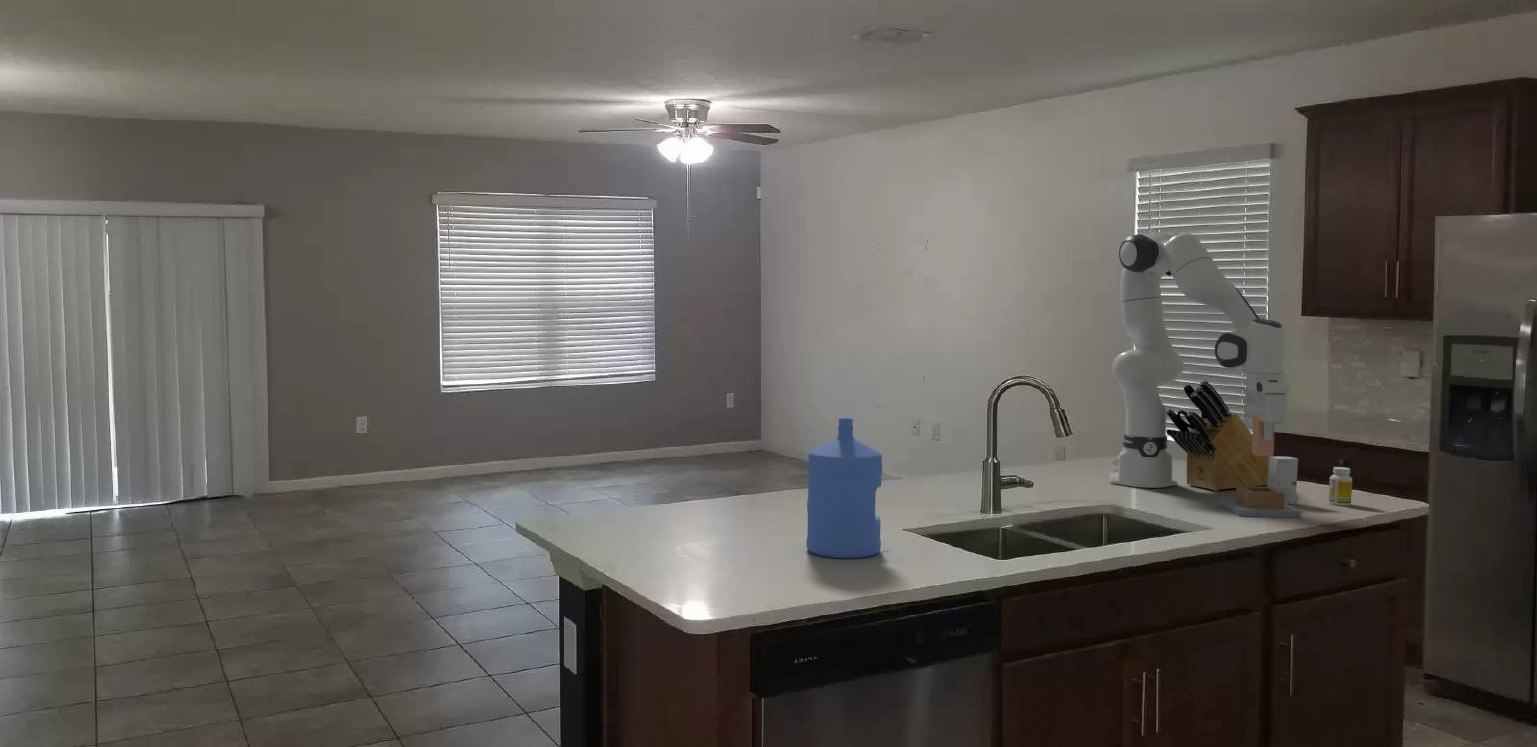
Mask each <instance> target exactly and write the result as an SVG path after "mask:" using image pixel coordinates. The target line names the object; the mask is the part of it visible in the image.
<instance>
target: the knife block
mask: <svg viewBox="0 0 1537 747" xmlns="http://www.w3.org/2000/svg"><path fill="white" fill-rule="evenodd" d="M1198 385H1199V386H1198V387H1196V388H1194V387H1193V386H1192V385H1191V384H1187V385H1185V386H1184V387H1183V391H1184V393H1185V394H1186V396H1187V398H1188V399H1189V400H1190V401H1191V402H1192V404H1194V406H1195V407H1196V408H1197V409H1198V410H1199V411H1200V412H1201V413H1200V415H1199V414H1198V413H1196V412H1195V411H1188V412H1187V411H1186V410H1182V409H1181V410H1180V409H1179V410H1178V411H1177V413H1176V412H1175V411H1174V410H1172V409H1167V411H1166V414H1167V416H1168V417H1169V419H1170V420H1171V422H1172V423H1173V424H1174V426H1175V427H1176V428H1177V429H1178V430H1176V429H1170V428H1169V429H1168V428H1166V436H1170V437H1171V439H1173V441H1174V442H1175V443H1176V444H1177V445H1178V446H1179V447H1180V448H1181V449H1182V450H1183V451H1184V452H1185V453H1186V484H1187V485H1189V486H1191V487H1200V488H1202V489H1203V488H1205V489H1209V490H1212V491H1215V492H1218V491H1219V490H1225V489H1227V490H1228V489H1236V486H1254V487H1262V486H1264V487H1268V468H1269V457H1270V456H1257V455H1255V454H1252V434H1253V433H1252V432H1251V431H1250V429H1249V428H1248V427H1247V426H1246V425H1245V423H1244V422H1243V420H1242V419H1241V417H1240V416H1239V414H1238V413H1237V412H1232V411H1231V410H1230V409H1229V407H1228V405H1227V404H1226V403H1225V400H1224V399H1223V398H1222V397H1221V395H1220V394H1219V393H1218V391H1217V390H1216V389H1215V387H1213V385H1211V384H1210V383H1209V381H1207V380H1205V379H1203V380H1202V381H1200V382H1199V384H1198ZM1181 415H1182V416H1184V417H1185V419H1186V421H1185V419H1183V417H1181Z"/></svg>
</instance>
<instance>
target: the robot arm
mask: <svg viewBox="0 0 1537 747" xmlns="http://www.w3.org/2000/svg"><path fill="white" fill-rule="evenodd" d="M1118 258H1119V262H1120V264H1121V266H1122V267H1123V269H1122V270H1121V274H1120V287H1119V288H1120V306H1121V314H1122V315H1121V317H1122V324H1123V329H1124V331H1125V333H1127V335H1128V336H1129V337H1130V338H1131V341H1132V343H1133V346H1134V348H1133V349H1129V350H1127V351H1123V352H1121V353H1120V354H1118V355H1116V357H1115V358H1114V360H1113V361H1112V365H1111V372H1112V376H1113V378H1114V379H1115V381H1116V383H1118V385H1119V386H1120V389H1121V392H1122V395H1123V400H1124V406H1125V433H1124V435H1123V438H1122V446H1123V447H1122V449H1121V451H1120V453H1119V455H1118V457H1115V458H1113V459H1112V461H1111V462H1112V463H1111V466H1112V467H1113V468H1114V472H1109V476H1108V478H1109V483H1110V484H1113V485H1120V486H1121V485H1123V486H1129V487H1136V488H1148V489H1149V488H1150V489H1151V488H1153V489H1154V488H1155V489H1156V488H1159V489H1160V488H1167V487H1171V486H1177V485H1179V484H1178V481H1177V480H1174V479H1173V456H1172V455H1171V454H1170V453H1169V452H1168V450H1167V449H1168V435H1167V432H1166V430H1167V418H1168V417H1167V416H1168V415H1167V414H1166V411H1168V409H1167V407H1166V406H1165V405H1164V404H1163V402H1162V400H1161V398H1160V393H1159V387H1164V386H1167V385H1169V384H1172V383H1174V382H1176V381H1178V379H1179V378H1181V376H1182V374H1183V372H1184V362H1183V359H1182V357H1181V355H1180V354H1179V353H1178V352H1177V351H1176V350H1175V348H1174V346H1173V344H1172V342H1171V339H1170V337H1169V334H1168V332H1167V327H1166V325H1165V319H1164V317H1165V316H1164V311H1163V302H1162V301H1163V300H1162V293H1161V280H1162V278H1163V276H1164V275H1166V276H1168V277H1169V276H1172V278H1173V280H1174V281H1175V284H1176V286H1177V287H1178V289H1179V291H1180V292H1181V293H1182V294H1183V295H1184V296H1185V297H1186V298H1187V299H1188V300H1190V301H1192V302H1195V303H1198V304H1201V305H1204V306H1209V307H1210V308H1214V309H1215V310H1218V311H1220V312H1221V313H1224V315H1225V316H1227V318H1228V319H1229V320H1230V321H1231V323H1232V324H1233V326H1234V328H1235V329H1236V330H1232V331H1229V332H1225V333H1223V334H1221V335H1220V336H1219V337H1218V339H1217V340H1216V342H1215V344H1214V356H1215V359H1216V361H1217V362H1218V364H1219V365H1220V366H1221V367H1224V368H1227V369H1230V370H1234V369H1235V370H1246V372H1245V373H1246V374H1245V375H1246V379H1245V380H1246V381H1245V395H1244V404H1243V405H1244V408H1243V412H1244V417H1248V418H1250V419H1253V414H1254V415H1257V416H1259V420H1260V421H1263V422H1264V432H1262V438H1263V439H1264V440H1271V437H1272V431H1273V428H1274V429H1275V426H1274V424H1275V425H1284V423H1285V422H1286V418H1287V412H1288V411H1287V410H1288V395H1289V394H1290V391H1291V390H1290V389H1291V388H1290V385H1289V383H1288V382H1287V380H1286V378H1285V369H1284V360H1285V357H1286V334H1285V329H1284V326H1283V324H1281V323H1280V322H1278V321H1276V320H1271V319H1265V318H1264V319H1263V318H1260V317H1259V315H1258V314H1257V313H1256V311H1255V310H1254V308H1252V306H1251V305H1250V303H1249V302H1248V300H1247V299H1246V298H1245V296H1244V295H1243V294H1242V293H1241V291H1240V290H1239V289H1238V288H1237V287H1236V286H1235V285H1234V283H1232V282H1230V280H1228V279H1227V277H1226V276H1225V275H1224V274H1223V273H1222V271H1221V270H1220V269H1219V267H1218V266H1217V264H1216V262H1215V261H1214V260H1213V258H1212V256H1211V254H1210V253H1209V251H1208V250H1207V249H1206V247H1205V246H1204V244H1203V243H1202V242H1201V241H1200V240H1199V239H1198V237H1197V236H1195V234H1192V233H1189V232H1181V233H1180V232H1172V233H1171V232H1161V231H1160V232H1152V233H1144V234H1140V233H1137V234H1133V235H1130V236H1128V237H1126V238H1125V239H1123V240H1122V242H1121V244H1120V247H1119V250H1118ZM1287 394H1288V395H1287Z"/></svg>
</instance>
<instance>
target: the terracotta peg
mask: <svg viewBox="0 0 1537 747" xmlns="http://www.w3.org/2000/svg"><path fill="white" fill-rule="evenodd" d="M1275 425H1276V424H1274V428H1273V431H1272V437H1271V440H1264V439H1263V438H1262V432H1264V422H1263V421H1260V420H1259V416H1257V415H1254V414H1253V418H1252V433H1251V434H1252V454H1255V455H1257V456H1268V457H1270V456H1274V453H1275Z"/></svg>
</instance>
